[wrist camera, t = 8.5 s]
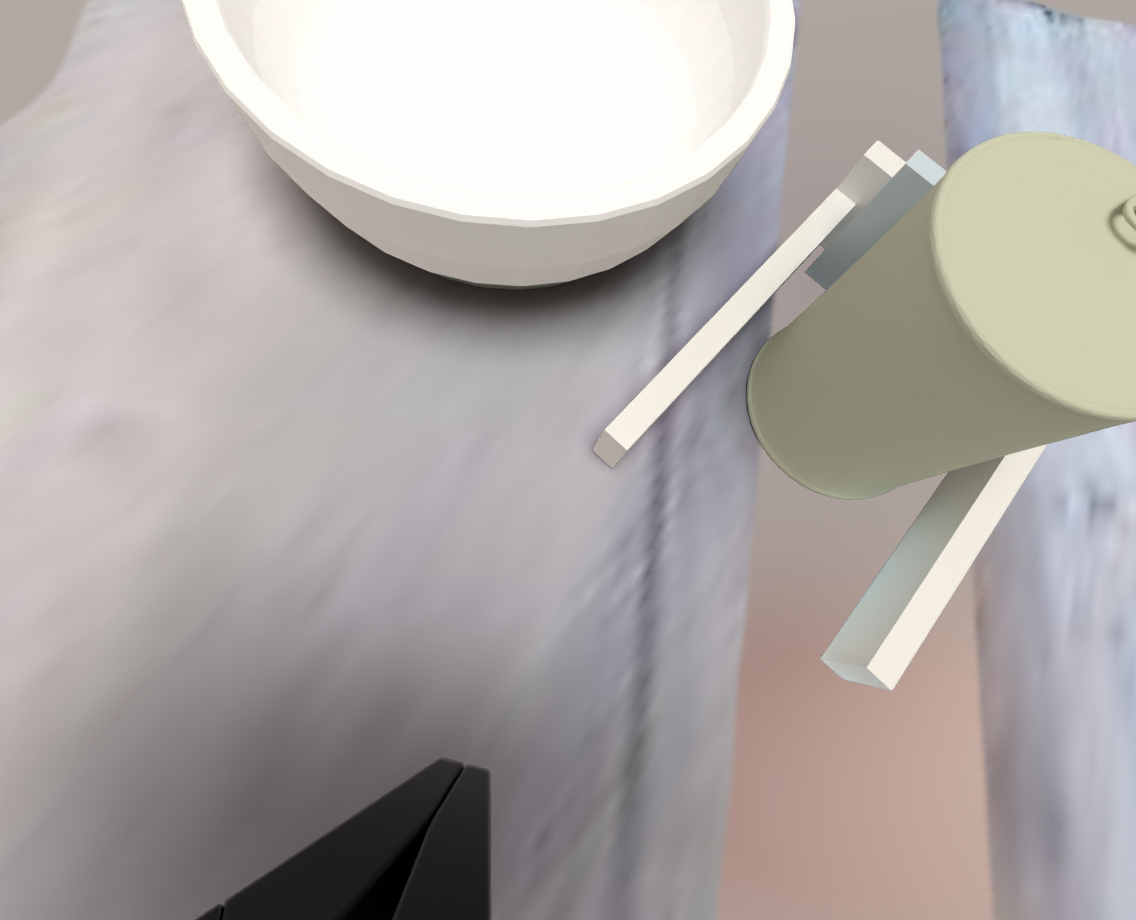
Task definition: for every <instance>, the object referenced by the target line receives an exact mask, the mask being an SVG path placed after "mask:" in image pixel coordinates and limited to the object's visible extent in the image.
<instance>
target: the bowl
mask: <svg viewBox="0 0 1136 920" xmlns="http://www.w3.org/2000/svg"><path fill="white" fill-rule="evenodd" d="M181 2H182V5H183V8H184V11H185V14H186V18H187V21H188V24H189V27H190V30H191V33H192V36H193V39H194V42H195V45H196V46H197V48H198V49H199V51H200V53H201V54H202V56H203V57H204V59H205V60H206V62H207V64H208V65H209V67H210V68H211V70H212V71H213V73H214V75H215V76H216V78H217V79H218V81H219V82H220V84H221V86H222V87H223V89H224V90H225V92H226V93H227V95H228V96H229V98H230V99H231V101H232V102H233V104H234V105H235V107H236V108H237V110H238V111H239V113H240V114H241V116H242V117H243V119H244V120H245V121H246V123H247V124H248V126H249V127H250V129H251V130H252V132H253V133H254V135H255V136H256V138H257V139H258V141H259V142H260V144H261V145H262V146H263V148H264V149H265V151H266V152H267V154H268V155H269V156H270V157H271V158H272V159H273V160H274V161H275V162H276V163H277V164H278V165H279V166H280V167H281V168H282V169H283V170H284V171H285V172H286V173H287V174H288V175H289V176H290V177H291V178H292V179H293V180H294V181H295V182H296V183H297V184H298V185H299V186H300V187H301V188H302V189H303V190H304V191H305V192H306V193H307V194H308V195H309V196H310V197H311V198H313V199H314V200H315V201H316V202H317V203H319V204H320V205H321V206H322V207H323V208H325V209H326V210H327V211H328V212H329V213H331V214H332V215H333V216H334V217H335V218H337V219H338V220H339V221H340V222H341V223H343V224H344V225H345V226H346V227H348V228H349V229H351V230H352V231H354V232H355V233H357V234H358V235H360V236H361V237H363V238H364V239H366V240H367V241H369V242H370V243H371V244H373V245H374V246H376V247H377V248H379V249H380V250H382V251H383V252H385V253H387V254H389V255H392V256H394V257H396V258H399V259H401V260H403V261H405V262H408V263H410V264H412V265H415V266H417V267H419V268H422V269H424V270H426V271H428V272H432V273H434V274H437V275H439V276H441V277H444V278H446V279H448V280H452V281H456V282H460V283H464V284H469V285H473V286H477V287H481V288H490V289H505V290H526V289H535V288H545V287H553V286H556V285H560V284H563V283H566V282H570V281H573V280H576V279H580V278H583V277H585V276H588V275H592V274H595V273H598V272H602V271H605V270H608V269H611V268H613V267H615V266H617V265H619V264H620V263H622V262H624V261H626V260H628V259H630V258H632V257H634V256H636V255H637V254H639V253H641V252H643V251H645V250H647V249H648V248H649V247H651V246H652V245H653V244H655V243H656V242H657V241H658V240H660V239H661V238H662V237H664V236H665V235H666V234H668V233H669V232H670V231H672V230H673V229H674V228H676V227H677V226H678V225H679V224H681V223H682V222H683V221H684V220H685V219H687V218H688V217H689V216H690V215H691V214H692V213H694V212H695V211H696V210H697V209H698V208H700V207H701V206H702V205H703V204H704V203H705V202H707V201H708V200H709V199H710V198H711V197H713V196H714V194H715V193H716V192H717V190H718V189H719V187H720V186H721V185H722V183H723V182H724V181H725V179H726V178H727V177H728V175H729V174H730V172H731V171H732V170H733V168H734V167H735V166H736V164H737V163H738V161H739V160H740V159H741V157H742V156H743V154H744V153H745V151H746V150H747V148H748V147H749V146H750V144H751V143H752V141H753V140H754V138H755V137H756V136H757V134H758V133H759V131H760V130H761V128H762V127H763V125H764V124H765V123H766V121H767V120H768V118H769V117H770V115H771V114H772V113H773V111H774V110H775V107H776V105H777V102H778V99H779V97H780V94H781V92H782V89H783V87H784V84H785V81H786V79H787V76H788V74H789V71H790V68H791V58H792V49H793V40H794V30H795V16H794V9H793V2H792V0H181Z"/></svg>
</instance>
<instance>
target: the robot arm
mask: <svg viewBox="0 0 1136 920" xmlns="http://www.w3.org/2000/svg"><path fill="white" fill-rule="evenodd" d="M195 920H491V803H490V772H489V770H487V769H484V768H481V767H477V766H473V765H467V766H464V764H463V763H462V762H458V761H455V760H451V759H447V758H440V759H438V760H436V761H435V762H433V763H432V764H430V765H429V766H427V767H426V768H424V769H423V770H421V771H420V772H418V773H417V774H415V775H414V776H412V777H411V778H409V779H408V780H406V781H405V782H403V783H402V784H400V785H399V786H397V787H396V788H394V789H393V790H391V791H390V792H388V793H387V794H385V795H384V796H382V797H381V798H379V799H378V800H376V801H375V802H373V803H372V804H370V805H369V806H367V807H366V808H364V809H363V810H361V811H360V812H358V813H356V814H355V815H353V816H352V817H350V818H349V819H347V820H346V821H344V822H343V823H341V824H340V825H338V826H337V827H335V828H334V829H332V830H331V831H329V832H328V833H326V834H325V835H323V836H322V837H320V838H319V839H317V840H316V841H314V842H313V843H311V844H310V845H308V846H307V847H305V848H304V849H302V850H301V851H299V852H298V853H296V854H295V855H293V856H292V857H290V858H289V859H287V860H286V861H284V862H283V863H281V864H280V865H278V866H277V867H275V868H274V869H272V870H271V871H269V872H268V873H266V874H265V875H263V876H262V877H260V878H259V879H257V880H256V881H254V882H253V883H251V884H250V885H248V886H247V887H245V888H244V889H242V890H241V891H239V892H238V893H236V894H235V895H233V896H231V897H230V898H228V899H227V900H226V901H225V903H224V907H223V905H222V904H218V905H216V906H215V907H213V908H212V909H210V910H209V911H207V912H206V913H204V914H203V915H201V916H200V917H198V918H197V919H195Z"/></svg>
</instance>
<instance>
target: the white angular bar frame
mask: <svg viewBox="0 0 1136 920" xmlns="http://www.w3.org/2000/svg"><path fill="white" fill-rule="evenodd" d="M905 163H906V162H905V161H903V160H902V159H901V158H899V157H898V156H897V155H896V154H894V153H893V152H892V151H891V150H890V149H888V148H887V147H886V146H885V145H883V144H882V143H881V142H880V141H877V142H876V143H875V144H874V145H873V146H872V147H871V148H870V149H869V150H868V151H867V152H866V153H865V154H864V155H863V156H862V158H861V159H860V160H859V161H858V162H857V164H856V165H855V166H854V167H853V169H852V170H851V171H850V172H849V174H848V175H847V176H846V177H845V179H844V180H843V181H842V182H841V183H840V185H839V186H838V187H837V188H836V189H835V190H834V192H832V193H831V194H830V196H829V197H828V198H827V199H826V200H825V201H824V202H823V203H822V204H821V205H820V206H819V207H818V208H817V209H816V210H815V211H814V212H813V213H812V214H811V215H810V216H809V217H808V218H807V220H805V222H804V223H803V224H802V225H801V226H800V227H799V228H798V229H797V230H796V231H795V232H794V233H793V234H792V235H791V236H790V237H789V238H788V239H787V240H786V241H785V242H784V243H783V244H782V246H781V247H780V248H779V249H778V250H777V251H776V252H775V253H774V254H773V255H772V256H771V257H770V258H769V259H768V260H767V261H766V262H765V263H764V264H763V265H762V266H761V267H760V268H759V269H758V270H757V272H756V273H755V274H754V275H753V276H752V277H751V278H750V279H749V280H748V281H747V282H746V283H745V284H744V285H743V286H742V287H741V288H740V289H739V290H738V291H737V292H736V293H735V294H734V295H733V296H732V298H731V299H730V300H729V301H728V302H727V303H726V304H725V305H724V306H723V307H722V308H721V309H720V310H719V311H718V312H717V313H716V314H715V315H714V316H713V317H712V318H711V319H710V320H709V321H708V323H707V324H706V325H705V326H704V327H703V328H702V329H701V330H700V331H699V332H698V333H697V334H696V335H695V336H694V337H693V338H692V339H691V340H690V341H689V342H688V343H687V344H686V345H685V346H684V348H683V349H682V350H681V351H680V352H679V353H678V354H677V355H676V356H675V357H674V358H673V359H672V360H671V361H670V362H669V363H668V364H667V365H666V366H665V367H664V368H663V369H662V370H661V371H660V373H659V374H658V375H657V376H656V377H655V378H654V379H653V380H652V381H651V382H650V383H649V384H648V385H647V386H646V387H645V388H644V389H643V390H642V391H641V392H640V393H639V394H638V395H637V396H636V397H635V399H634V400H633V401H632V402H631V403H630V404H629V405H628V406H627V407H626V408H625V409H624V410H623V411H622V412H621V413H620V414H619V415H618V416H617V417H616V418H615V419H614V420H613V421H612V422H611V424H610V425H609V426H608V427H607V428H606V429H605V430H604V431H603V433H602V435H601V436H600V438H599V440H598V441H597V443H596V445H595V446H594V448H593V449H592V451H593V452H594V453H596V454H597V455H598V456H599V457H600V458H601V459H602V460H603V461H604V462H605V463H606V464H608V465H609V466H610V467H611V468H613V467H614V466H615V464H616V463H617V462H618V461H619V460H620V459H621V458H622V457H623V456H624V455H625V454H626V453H627V452H628V450H629V449H630V448H631V447H632V446H633V445H634V444H635V443H636V442H637V441H638V440H639V439H640V438H641V436H642V435H643V434H644V433H645V432H646V431H647V430H648V429H649V428H650V427H651V426H652V425H653V424H654V422H655V421H656V420H657V419H658V418H659V417H660V416H661V415H662V414H663V413H664V412H665V411H666V410H667V408H668V407H669V406H670V405H671V404H672V403H673V402H674V401H675V400H676V399H677V398H678V397H679V396H680V394H681V393H682V392H683V391H684V390H685V389H686V388H687V387H688V386H689V385H690V384H691V383H692V382H693V380H694V379H695V378H696V377H697V376H698V375H699V374H700V373H701V372H702V371H703V370H704V369H705V368H706V366H707V365H708V364H709V363H710V362H711V361H712V360H713V359H714V358H715V357H716V356H717V355H718V354H719V352H720V351H721V350H722V349H723V348H724V347H725V346H726V345H727V344H728V343H729V342H730V341H731V340H732V338H733V337H734V336H735V335H736V334H737V333H738V332H739V331H740V330H741V329H742V328H743V327H744V326H745V324H746V323H747V322H748V321H749V320H750V319H751V318H752V317H753V316H754V315H755V314H756V313H757V312H758V310H759V309H760V308H761V307H762V306H763V305H764V304H765V303H766V302H767V301H768V300H769V299H770V298H771V296H772V295H773V294H774V293H775V292H776V291H777V290H778V289H779V288H780V287H781V286H782V285H783V284H784V282H785V281H786V280H787V279H788V278H789V277H790V276H791V275H792V274H793V272H795V271H796V270H797V268H798V267H799V266H800V265H801V264H802V263H803V262H804V261H805V260H806V258H808V257H809V256H810V254H811V253H812V252H813V251H814V250H815V249H816V248H817V247H818V246H819V245H821V246H822V247H823V248H825V250H826V249H827V247H828V246H829V245H830V244H831V243H832V242H833V241H834V240H835V239H836V238H837V237H838V236H839V235H840V233H841V232H842V231H843V230H844V229H845V228H846V227H847V226H848V225H849V224H850V223H851V222H852V221H853V219H854V218H855V217H856V216H857V215H858V214H859V213H860V212H861V211H862V210H863V209H864V208H865V207H866V205H867V204H868V203H869V202H870V201H871V200H872V199H873V198H874V197H875V196H876V195H877V194H878V193H879V191H880V190H881V189H882V188H883V187H884V186H885V185H886V184H887V183H888V182H889V181H890V180H891V179H892V177H893V176H894V175H895V174H896V173H897V172H898V171H899V170H900V169H901V168H902V167H903V166H904V165H905ZM1046 445H1047V444H1046ZM1046 445H1042V446H1038V447H1035V448H1031V449H1027V450H1024V451H1020V452H1016V453H1013V454H1009V455H1006V456H1002V457H999V458H995V459H991V460H988V461H984V462H981V463H977V464H974V465H970V466H967V467H963V468H960V469H956V470H952V471H949V472H948V473H947V475H946V476H945V478H944V479H943V480H942V482H941V483H940V485H939V486H938V488H937V489H936V491H935V492H934V494H933V495H932V497H931V498H930V500H929V501H928V502H927V504H926V505H925V507H924V508H923V510H922V511H921V513H920V514H919V515H918V517H917V518H916V520H915V521H914V523H913V524H912V526H911V527H910V529H909V530H908V531H907V533H906V534H905V536H904V537H903V539H902V540H901V542H900V543H899V545H898V546H897V548H896V549H895V550H894V552H893V553H892V555H891V556H890V558H889V559H888V561H887V562H886V563H885V565H884V566H883V568H882V569H881V571H880V572H879V574H878V575H877V577H876V578H875V580H874V581H873V582H872V584H871V585H870V587H869V588H868V590H867V591H866V593H865V594H864V596H863V597H862V599H861V600H860V601H859V603H858V604H857V606H856V607H855V609H854V610H853V612H852V613H851V615H850V616H849V618H848V619H847V620H846V622H845V623H844V625H843V626H842V628H841V629H840V630H839V632H838V634H837V635H836V636H835V638H834V639H833V641H832V642H831V644H830V645H829V646H828V648H827V650H826V651H825V653H824V654H823V655H822V657H821V658H820V659H821V660H822V661H823V662H824V663H825V664H826V665H827V666H829V667H830V668H831V669H832V670H833V671H834V672H835V673H836V674H837V675H838V676H839V677H840V678H842V679H845V680H849V681H853V682H857V683H861V684H865V685H870V686H874V687H878V688H883V689H886V690H893V688H894V686H895V685H896V683H897V682H898V680H899V679H900V677H901V675H902V674H903V672H904V671H905V669H906V667H907V666H908V664H909V663H910V661H911V660H912V658H913V656H914V655H915V653H916V652H917V650H918V648H919V647H920V645H921V644H922V642H923V640H924V639H925V637H926V636H927V634H928V633H929V631H930V629H931V628H932V626H933V624H934V623H935V621H936V619H937V618H938V616H939V615H940V613H941V612H942V610H943V609H944V607H945V605H946V604H947V602H948V601H949V599H950V598H951V596H952V594H953V593H954V591H955V590H956V588H957V586H958V585H959V583H960V582H961V580H962V578H963V577H964V575H965V574H966V572H967V571H968V569H969V567H970V566H971V564H972V563H973V561H974V559H975V558H976V556H977V555H978V553H979V551H980V550H981V548H982V547H983V545H984V543H985V542H986V540H987V539H988V537H989V536H990V534H991V532H992V531H993V529H994V528H995V526H996V524H997V523H998V521H999V520H1000V518H1001V516H1002V515H1003V513H1004V512H1005V510H1006V508H1007V507H1008V505H1009V504H1010V502H1011V501H1012V499H1013V497H1014V496H1015V494H1016V493H1017V491H1018V489H1019V488H1020V486H1021V485H1022V483H1023V481H1024V480H1025V478H1026V477H1027V475H1028V474H1029V472H1030V470H1031V469H1032V467H1033V466H1034V464H1035V462H1036V461H1037V459H1038V458H1039V456H1040V454H1041V453H1042V451H1043V450H1044V448H1045V446H1046Z"/></svg>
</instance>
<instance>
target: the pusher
mask: <svg viewBox="0 0 1136 920" xmlns="http://www.w3.org/2000/svg"><path fill="white" fill-rule="evenodd" d="M945 173H946V171H945V170H944V169H943V168H941V167H940V166H939V165H938V164H936V163H935V162H934V161H933V160H931V159H930V158H929V157H928V156H926V155H925V154H924V153H922V152H921V151H920V150H918V151H917V152H916V153H915V154H914V155H913V156H912V157H911V158H910V159H909V160H908V161H907V162H906V163H905V165H904V166H903V167H902V168H901V169H900V170H899V171H898V172H897V173H896V174H895V175H894V176H893V177H892V179H891V180H890V181H889V182H888V183H887V184H886V185H885V186H884V187H883V188H882V189H881V190H880V191H879V193H878V194H877V195H876V196H875V197H874V198H873V199H872V200H871V201H870V202H869V203H868V204H867V205H866V207H865V208H864V209H863V210H862V211H861V212H860V213H859V214H858V215H857V216H856V217H855V218H854V219H853V221H852V222H851V223H850V224H849V225H848V226H847V227H846V228H845V229H844V230H843V231H842V232H841V233H840V235H839V236H838V237H837V238H836V239H835V240H834V241H833V242H832V243H831V244H830V245H829V246H828V247H827V249H826V250H825V251H824V252H823V253H822V254H821V255H820V256H819V257H818V258H817V259H816V261H814V263H813V264H812V265H811V266H810V267H809V268H808V269H807V270H806V271H805V273H806V274H808V275H809V276H810V277H811V278H812V279H814V280H815V281H816V282H817V283H819V284H820V285H821V286H822V287H823V288H825V289H826V290H827V289H828V288H829V287H830V286H832V285H833V284H834V283H835V282H836V281H837V280H838V279H839V278H840V277H841V276H842V275H843V274H844V273H845V272H846V271H847V270H848V269H849V268H850V267H851V266H852V265H853V264H854V263H855V262H857V261H858V260H859V259H860V258H861V257H862V256H863V255H864V254H865V253H866V252H867V251H868V250H869V249H870V248H871V247H872V246H873V245H874V244H875V243H876V242H877V241H878V240H879V239H880V238H881V237H882V236H883V235H884V234H885V233H886V232H887V231H888V230H889V229H891V228H892V227H893V226H894V225H895V224H896V223H897V222H898V221H899V220H900V219H901V218H902V217H903V216H904V215H905V214H906V213H907V212H908V211H909V210H910V209H911V208H912V207H913V206H914V205H915V204H916V203H917V202H918V201H919V200H920V199H921V198H922V197H923V196H924V195H925V194H926V193H927V192H928V191H929V190H930V189H931V188H932V187H933V186H934V185H935V184H936V183H937V182H938V181H939V180H940V179H941V178H942V177H943V176H944V175H945Z"/></svg>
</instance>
